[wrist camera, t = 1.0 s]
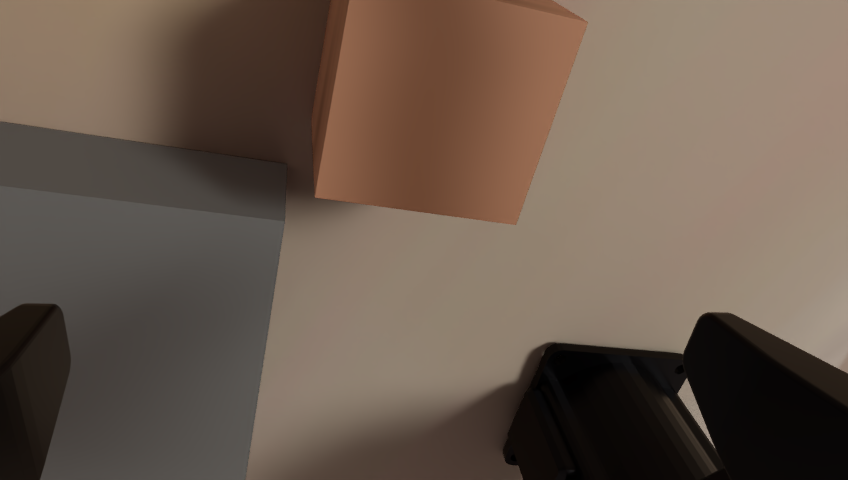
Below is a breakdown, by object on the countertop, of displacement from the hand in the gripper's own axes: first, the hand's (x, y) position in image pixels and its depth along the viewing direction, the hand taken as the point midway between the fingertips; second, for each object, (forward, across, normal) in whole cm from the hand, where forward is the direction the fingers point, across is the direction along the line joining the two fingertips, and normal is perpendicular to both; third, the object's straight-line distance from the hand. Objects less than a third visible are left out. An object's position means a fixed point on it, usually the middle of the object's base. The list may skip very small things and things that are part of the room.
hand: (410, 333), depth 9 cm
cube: (+11, -2, -1) cm, 11 cm away
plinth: (+11, +8, +8) cm, 16 cm away
